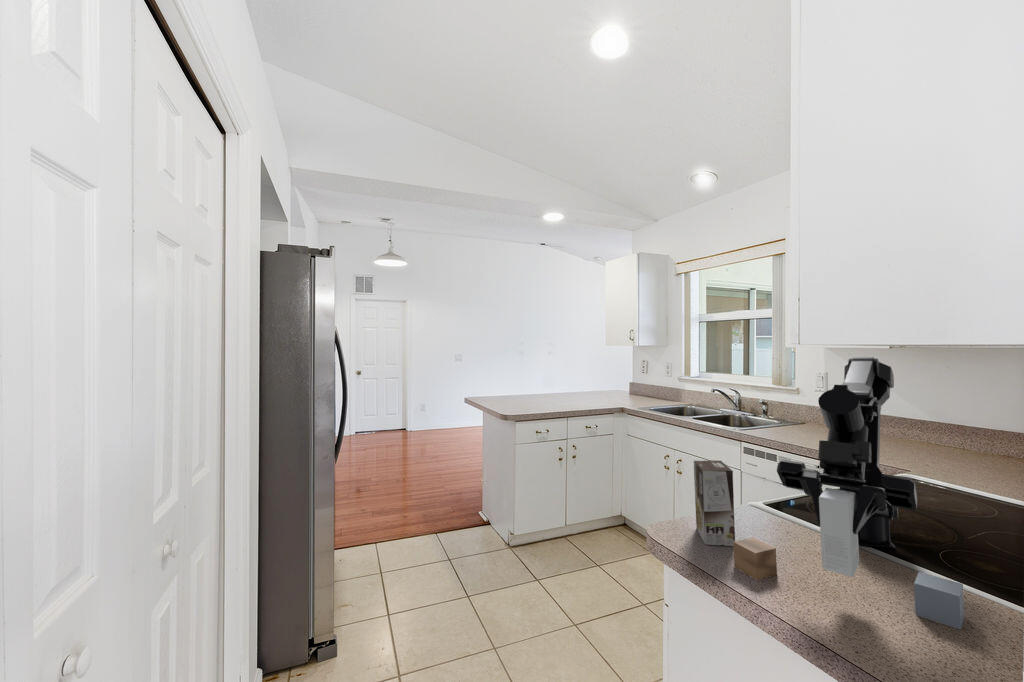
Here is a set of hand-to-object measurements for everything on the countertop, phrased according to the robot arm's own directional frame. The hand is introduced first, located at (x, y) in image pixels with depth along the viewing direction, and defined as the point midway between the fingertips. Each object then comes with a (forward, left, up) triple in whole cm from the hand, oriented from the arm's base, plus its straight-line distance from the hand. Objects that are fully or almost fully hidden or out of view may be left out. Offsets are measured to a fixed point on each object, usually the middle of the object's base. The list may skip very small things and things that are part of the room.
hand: (837, 528), depth 71 cm
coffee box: (+15, -23, -13) cm, 31 cm away
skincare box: (-1, -1, -7) cm, 7 cm away
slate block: (-14, -1, -13) cm, 19 cm away
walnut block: (+10, -9, -13) cm, 19 cm away
